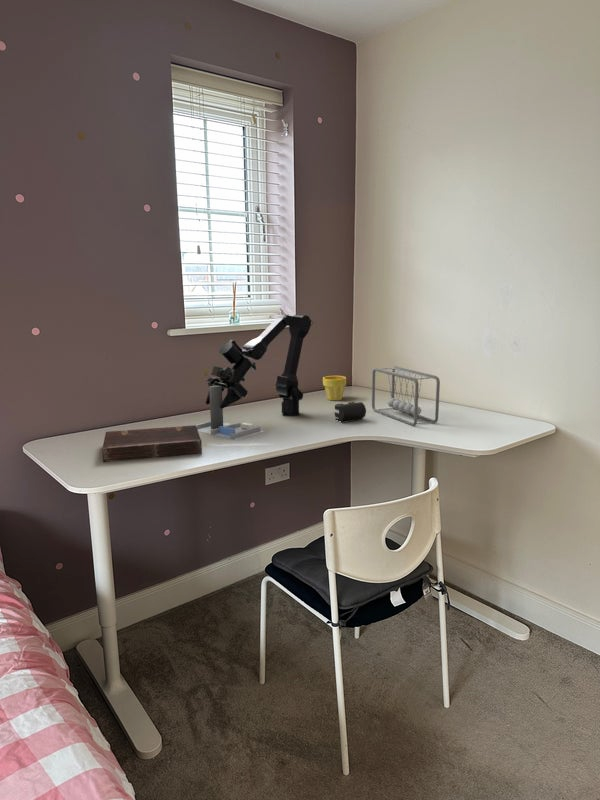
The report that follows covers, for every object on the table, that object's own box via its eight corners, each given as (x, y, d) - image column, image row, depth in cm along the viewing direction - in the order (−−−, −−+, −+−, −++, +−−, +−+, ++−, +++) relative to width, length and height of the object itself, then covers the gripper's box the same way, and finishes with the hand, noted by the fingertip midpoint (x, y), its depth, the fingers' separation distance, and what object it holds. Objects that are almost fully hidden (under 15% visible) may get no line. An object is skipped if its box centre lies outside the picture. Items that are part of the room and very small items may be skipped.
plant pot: (318, 399, 254) (318, 377, 252) (332, 395, 262) (332, 374, 260) (336, 402, 248) (337, 380, 245) (350, 398, 255) (350, 377, 253)
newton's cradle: (438, 424, 210) (440, 376, 206) (415, 427, 206) (416, 379, 202) (392, 408, 237) (393, 365, 233) (371, 410, 233) (371, 367, 229)
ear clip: (252, 428, 203) (252, 424, 203) (248, 429, 202) (248, 425, 201) (244, 426, 206) (244, 422, 205) (240, 427, 204) (240, 423, 204)
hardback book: (103, 464, 169) (102, 447, 168) (107, 446, 187) (105, 431, 186) (202, 455, 177) (201, 440, 176) (196, 439, 195) (195, 425, 194)
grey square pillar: (223, 426, 207) (222, 385, 204) (222, 429, 203) (221, 387, 200) (211, 426, 207) (210, 385, 204) (210, 429, 203) (208, 388, 200)
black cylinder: (344, 424, 211) (344, 406, 210) (333, 420, 217) (333, 403, 216) (366, 421, 216) (366, 403, 215) (355, 417, 222) (355, 400, 221)
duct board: (264, 432, 200) (264, 424, 200) (236, 441, 190) (236, 432, 189) (217, 422, 215) (216, 414, 214) (188, 430, 204) (188, 422, 204)
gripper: (210, 355, 209) (185, 388, 204) (239, 360, 195) (213, 396, 191) (228, 374, 216) (204, 406, 211) (258, 380, 202) (233, 415, 197)
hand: (213, 406), depth 202 cm, fingers open, 9 cm apart
